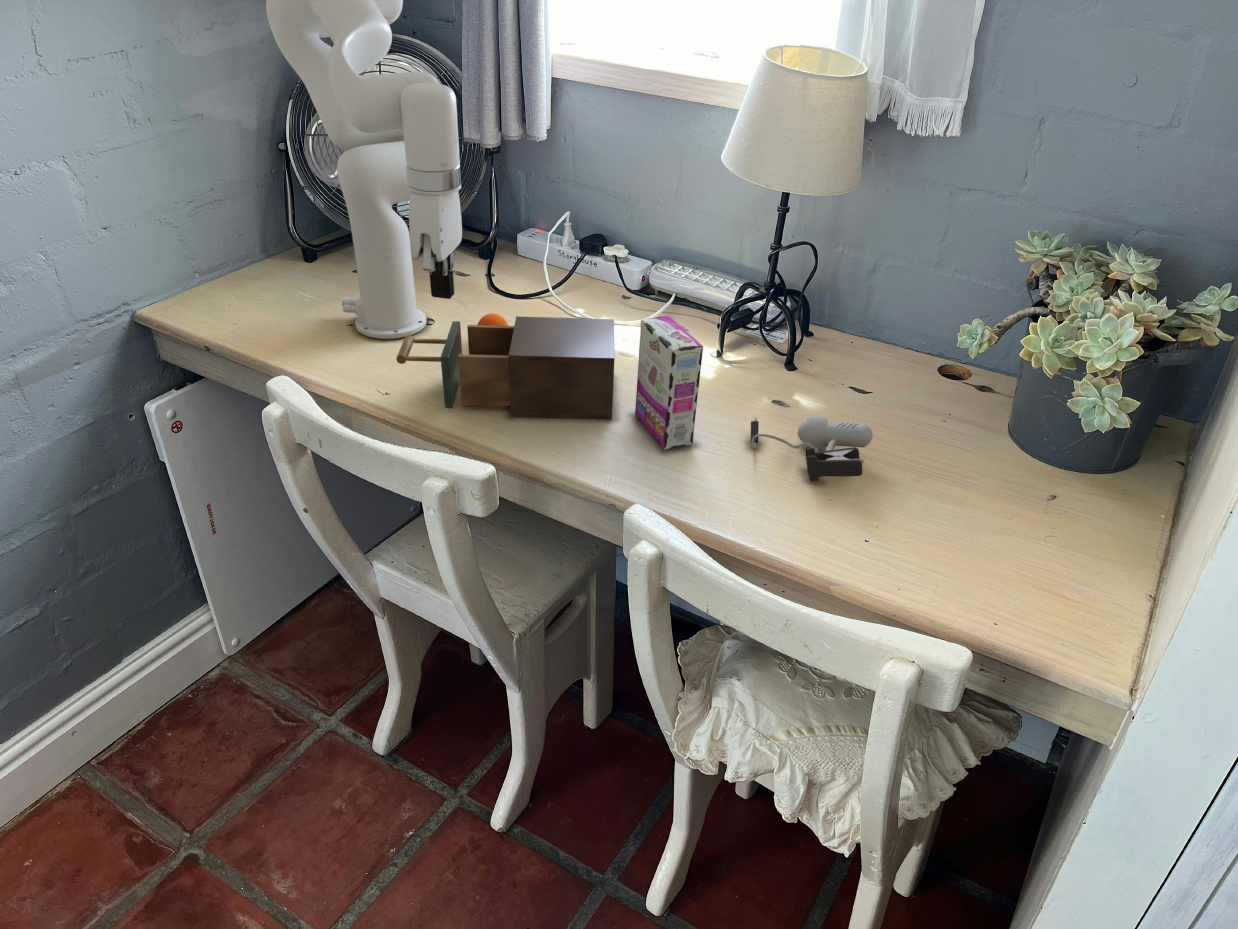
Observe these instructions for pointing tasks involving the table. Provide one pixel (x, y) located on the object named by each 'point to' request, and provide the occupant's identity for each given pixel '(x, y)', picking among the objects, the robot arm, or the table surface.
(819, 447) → the clip-on lamp
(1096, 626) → the table surface
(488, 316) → the ball
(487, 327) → the drawer
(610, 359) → the cabinet
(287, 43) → the robot arm
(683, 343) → the candy bar box
